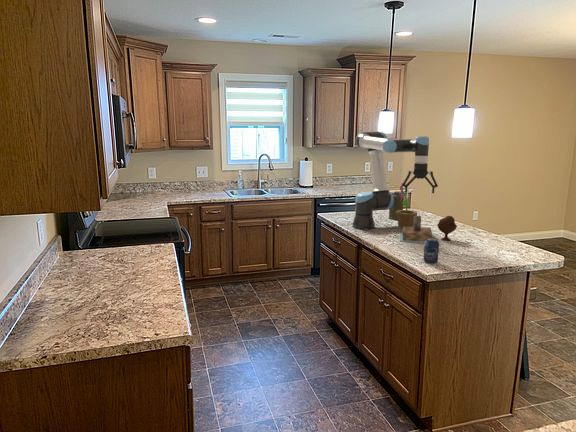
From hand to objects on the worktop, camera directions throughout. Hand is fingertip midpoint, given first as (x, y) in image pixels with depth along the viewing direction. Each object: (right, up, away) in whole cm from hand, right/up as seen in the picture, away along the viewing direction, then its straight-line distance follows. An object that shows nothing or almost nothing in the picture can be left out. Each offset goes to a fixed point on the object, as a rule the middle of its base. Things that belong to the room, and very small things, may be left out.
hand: (419, 198), depth 259 cm
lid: (0, -24, +5) cm, 24 cm away
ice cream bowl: (+16, -25, +1) cm, 30 cm away
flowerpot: (+2, -18, +36) cm, 40 cm away
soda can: (-7, -34, -42) cm, 55 cm away
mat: (0, -24, +5) cm, 25 cm away
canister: (+1, -13, +62) cm, 63 cm away
